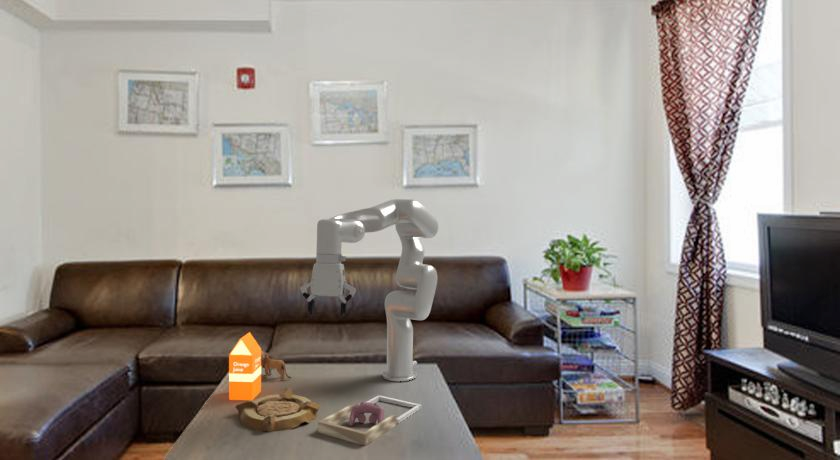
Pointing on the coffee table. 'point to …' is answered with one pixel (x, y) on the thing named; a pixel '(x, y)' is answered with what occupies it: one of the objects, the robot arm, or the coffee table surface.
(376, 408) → the video game controller
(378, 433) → the wooden u-shaped frame
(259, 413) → the ashtray
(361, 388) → the coffee table surface
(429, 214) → the robot arm
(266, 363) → the lion figurine
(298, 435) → the coffee table surface
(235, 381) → the orange juice
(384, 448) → the coffee table surface
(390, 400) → the white bay
